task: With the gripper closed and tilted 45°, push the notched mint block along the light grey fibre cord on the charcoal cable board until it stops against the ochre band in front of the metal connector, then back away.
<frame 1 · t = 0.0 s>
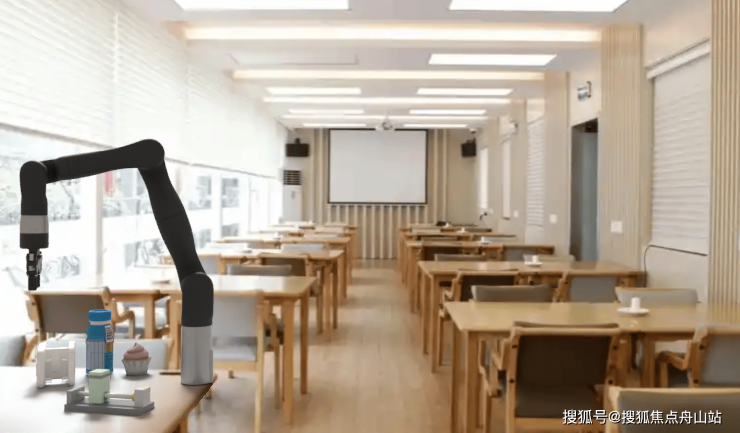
hand: (34, 289, 212), 29 cm above the table, tool pointing down, fingers open, 8 cm apart
beverage bottle: (99, 374, 237), on the table
cupcake: (136, 374, 237), on the table
notched mint block: (99, 386, 196), point 6 cm above the table, slide at 0.0 cm
cord board: (111, 409, 195), on the table
cable organizer: (55, 384, 223), on the table
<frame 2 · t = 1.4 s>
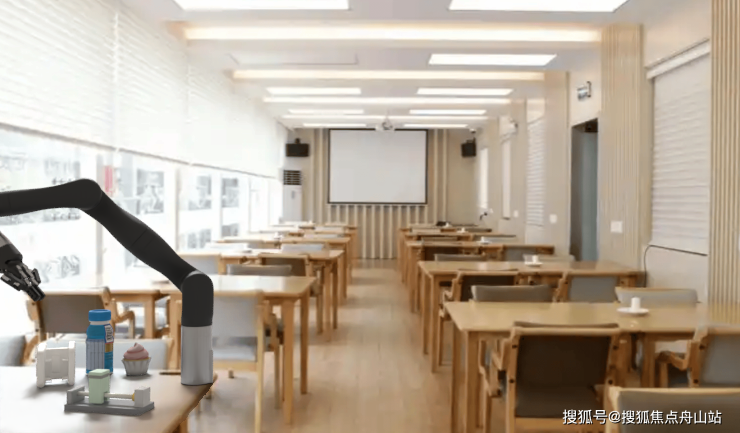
hand: (40, 298, 200), 28 cm above the table, tool tilted 45°, fingers closed
nothing on the table moved.
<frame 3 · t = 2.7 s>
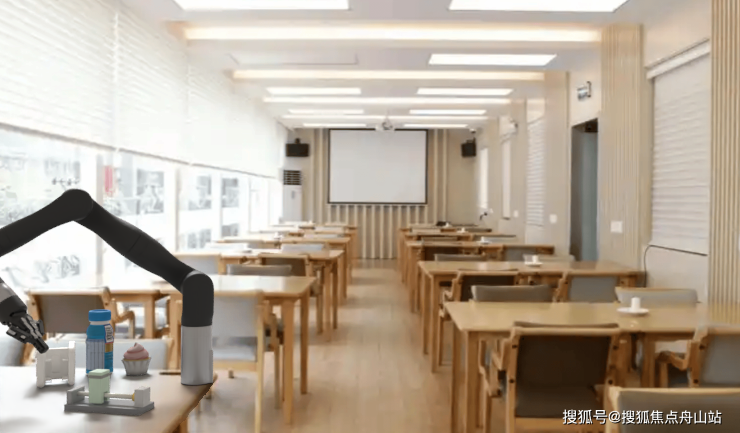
hand: (45, 351, 199), 14 cm above the table, tool tilted 45°, fingers closed
nothing on the table moved.
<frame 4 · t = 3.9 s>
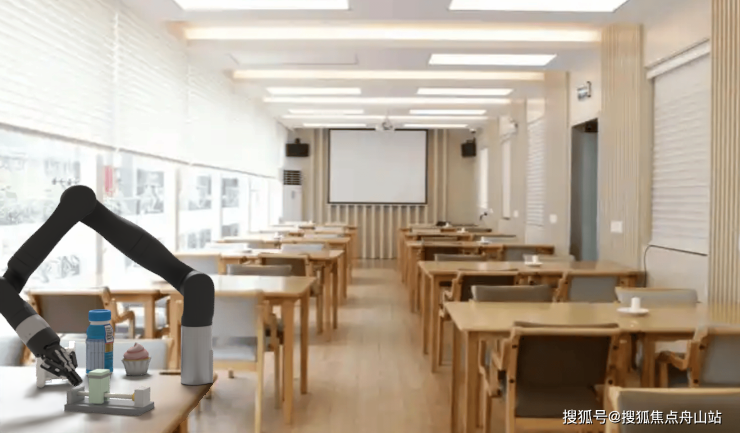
hand: (79, 384, 197), 6 cm above the table, tool tilted 45°, fingers closed
nothing on the table moved.
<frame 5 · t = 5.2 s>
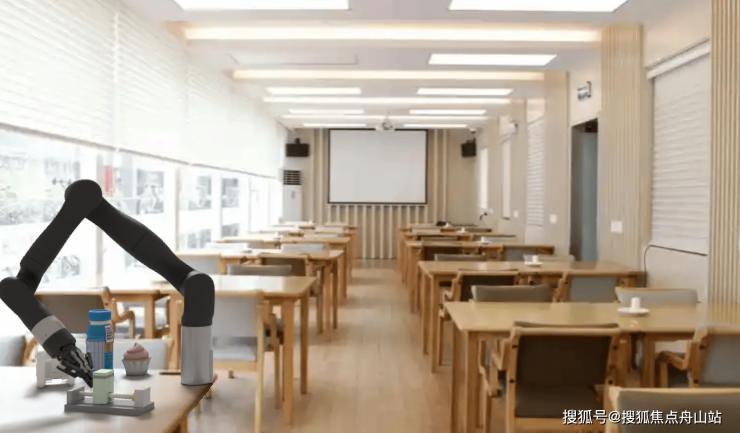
hand: (95, 385, 196), 6 cm above the table, tool tilted 45°, fingers closed
notched mint block: (103, 386, 196), point 6 cm above the table, slide at 1.2 cm, touching gripper
everything else where it was.
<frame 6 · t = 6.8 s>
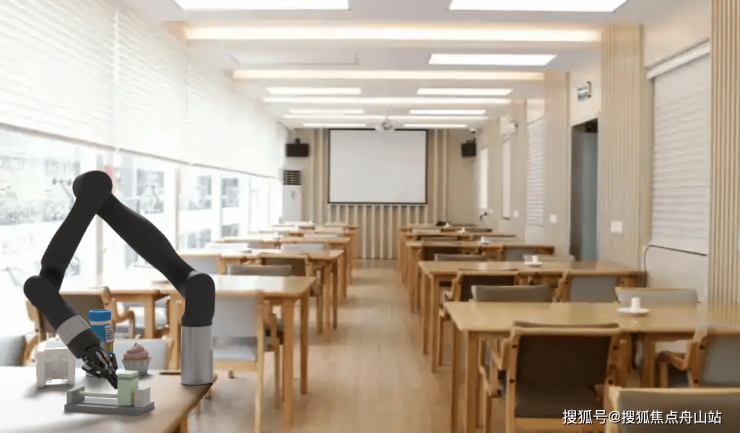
hand: (119, 386, 195), 6 cm above the table, tool tilted 45°, fingers closed
notched mint block: (128, 387, 194), point 6 cm above the table, slide at 8.2 cm, touching cord board, gripper
everything else where it was.
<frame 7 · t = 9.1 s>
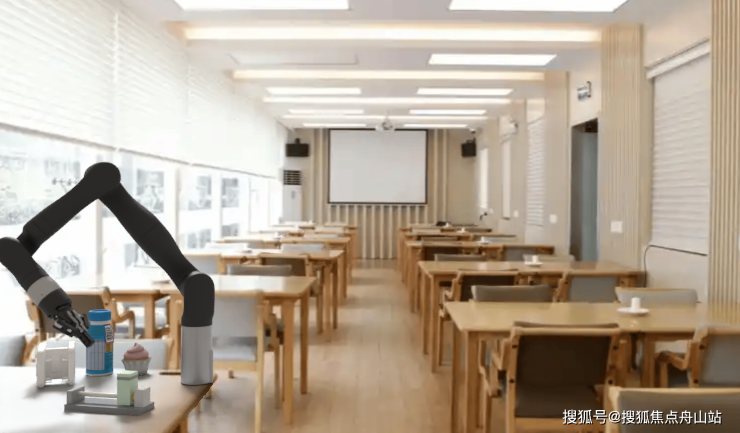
hand: (91, 345, 197), 16 cm above the table, tool tilted 45°, fingers closed
notched mint block: (127, 387, 194), point 6 cm above the table, slide at 8.0 cm
everything else where it was.
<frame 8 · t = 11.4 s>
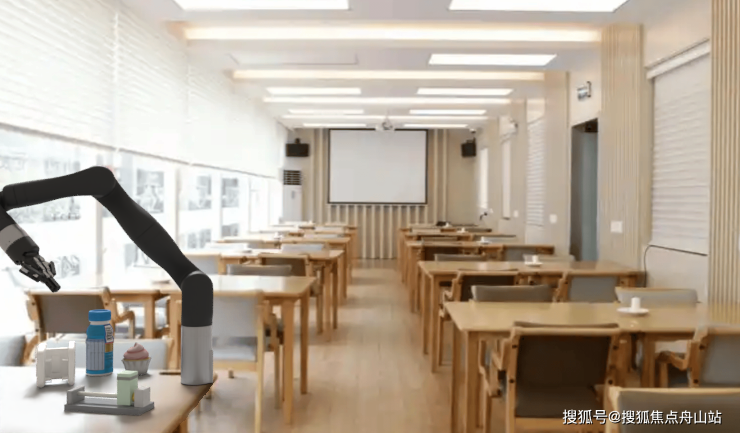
hand: (57, 290, 204), 30 cm above the table, tool tilted 45°, fingers closed
nothing on the table moved.
at the end: notched mint block slide at 8.0 cm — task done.
